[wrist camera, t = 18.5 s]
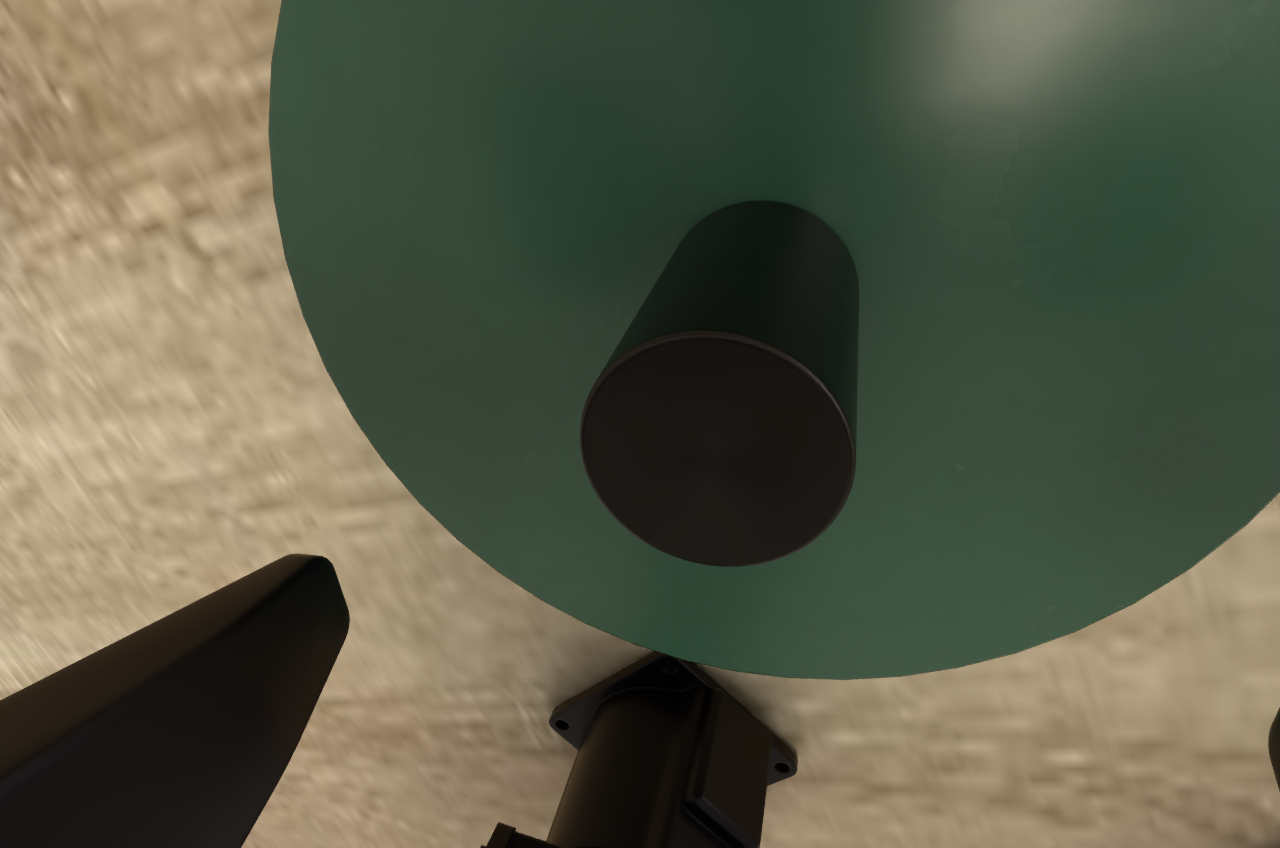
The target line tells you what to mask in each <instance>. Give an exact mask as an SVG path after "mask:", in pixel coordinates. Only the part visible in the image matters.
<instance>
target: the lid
mask: <svg viewBox="0 0 1280 848" xmlns="http://www.w3.org/2000/svg"><path fill="white" fill-rule="evenodd" d="M269 144H270V157H271V170H272V183H273V196H274V202H275V207H276V212H277V218H278V223H279V228H280V233H281V238H282V243H283V249H284V254H285V259H286V262H287V265H288V269H289V272H290V275H291V278H292V282H293V285H294V288H295V291H296V294H297V298H298V301H299V304H300V307H301V310H302V314H303V317H304V319H305V321H306V324H307V326H308V328H309V331H310V333H311V335H312V338H313V340H314V342H315V345H316V347H317V349H318V352H319V354H320V356H321V358H322V361H323V363H324V365H325V368H326V370H327V372H328V374H329V375H330V377H331V379H332V381H333V382H334V384H335V386H336V388H337V390H338V391H339V393H340V395H341V397H342V398H343V400H344V402H345V404H346V406H347V407H348V409H349V411H350V413H351V415H352V416H353V418H354V420H355V421H356V423H357V424H358V425H359V427H360V428H361V430H362V431H363V432H364V434H365V435H366V437H367V438H368V440H369V441H370V442H371V444H372V445H373V447H374V448H375V450H376V451H377V452H378V454H379V455H380V457H381V458H382V459H383V461H384V462H385V464H386V465H387V466H388V467H389V468H390V470H391V471H392V472H393V473H394V474H395V475H396V477H397V478H398V479H399V480H400V481H401V482H402V483H403V485H404V486H405V487H406V488H407V489H408V490H409V492H410V493H411V494H412V495H413V496H414V497H415V499H416V500H417V501H418V502H419V503H420V504H421V505H422V506H423V507H424V508H425V509H426V510H427V511H428V512H429V513H430V514H431V515H432V516H433V517H434V518H435V519H436V520H437V521H438V522H439V523H441V524H442V525H443V526H444V527H445V528H446V529H447V530H448V531H449V532H450V533H451V534H452V535H453V536H454V537H455V538H456V539H457V540H458V541H460V542H461V543H462V544H463V545H465V546H466V547H467V548H468V549H470V550H471V551H472V552H473V553H475V554H476V555H477V556H479V557H480V558H481V559H482V560H484V561H485V562H486V563H487V564H489V565H490V566H491V567H492V568H494V569H495V570H496V571H497V572H499V573H500V574H502V575H503V576H505V577H506V578H508V579H509V580H511V581H513V582H514V583H516V584H517V585H519V586H520V587H522V588H523V589H525V590H526V591H528V592H529V593H531V594H533V595H534V596H536V597H537V598H539V599H540V600H542V601H544V602H545V603H547V604H549V605H551V606H553V607H555V608H557V609H559V610H561V611H563V612H564V613H566V614H568V615H570V616H572V617H574V618H576V619H578V620H580V621H581V622H583V623H585V624H587V625H589V626H592V627H594V628H597V629H599V630H601V631H604V632H606V633H609V634H611V635H613V636H616V637H618V638H621V639H623V640H625V641H628V642H630V643H633V644H635V645H638V646H641V647H645V648H648V649H651V650H654V651H657V652H660V653H664V654H667V655H670V656H673V657H676V658H679V659H683V660H686V661H691V662H696V663H700V664H705V665H709V666H714V667H718V668H723V669H728V670H732V671H737V672H745V673H753V674H761V675H769V676H777V677H785V678H803V679H832V680H851V679H868V678H886V677H901V676H908V675H914V674H921V673H927V672H934V671H941V670H947V669H954V668H959V667H963V666H967V665H971V664H975V663H979V662H983V661H987V660H991V659H995V658H999V657H1003V656H1007V655H1011V654H1015V653H1018V652H1021V651H1023V650H1026V649H1029V648H1032V647H1035V646H1037V645H1040V644H1043V643H1046V642H1048V641H1051V640H1054V639H1057V638H1060V637H1062V636H1065V635H1068V634H1071V633H1073V632H1076V631H1078V630H1080V629H1082V628H1084V627H1086V626H1088V625H1090V624H1092V623H1095V622H1097V621H1099V620H1101V619H1103V618H1105V617H1107V616H1109V615H1111V614H1113V613H1115V612H1118V611H1120V610H1122V609H1124V608H1126V607H1128V606H1130V605H1132V604H1134V603H1136V602H1137V601H1139V600H1140V599H1142V598H1144V597H1145V596H1147V595H1149V594H1150V593H1152V592H1153V591H1155V590H1157V589H1158V588H1160V587H1162V586H1163V585H1165V584H1166V583H1168V582H1170V581H1171V580H1173V579H1175V578H1176V577H1178V576H1179V575H1181V574H1183V573H1184V572H1186V571H1187V570H1189V569H1191V568H1192V567H1193V566H1195V565H1196V564H1197V563H1198V562H1200V561H1201V560H1202V559H1204V558H1205V557H1206V556H1207V555H1209V554H1210V553H1211V552H1213V551H1214V550H1215V549H1216V548H1218V547H1219V546H1220V545H1222V544H1223V543H1224V542H1225V541H1227V540H1228V539H1229V538H1230V537H1232V536H1233V535H1234V534H1236V533H1237V532H1238V531H1239V530H1241V529H1242V528H1243V527H1245V526H1246V525H1247V524H1248V523H1249V522H1250V521H1251V520H1252V519H1253V518H1254V517H1255V516H1256V515H1257V514H1258V513H1259V512H1260V511H1261V510H1262V509H1263V508H1264V507H1265V506H1266V505H1267V504H1268V503H1269V502H1270V501H1271V500H1272V499H1273V498H1275V497H1276V496H1277V495H1278V494H1279V493H1280V0H282V2H281V8H280V14H279V20H278V26H277V32H276V38H275V44H274V50H273V56H272V62H271V85H270V109H269Z"/></svg>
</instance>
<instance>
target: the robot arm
mask: <svg viewBox="0 0 1280 848" xmlns="http://www.w3.org/2000/svg"><path fill="white" fill-rule="evenodd" d="M349 622H350V617H349V610H348V607H347V604H346V601H345V598H344V595H343V592H342V589H341V586H340V583H339V581H338V578H337V575H336V572H335V569H334V566H333V564H332V563H331V562H330V561H329V560H328V559H327V558H325V557H323V556H316V555H306V554H290V555H287V556H284V557H282V558H280V559H278V560H276V561H274V562H272V563H270V564H268V565H266V566H264V567H262V568H261V569H259V570H257V571H255V572H253V573H251V574H249V575H247V576H245V577H243V578H241V579H239V580H237V581H235V582H233V583H231V584H229V585H227V586H225V587H223V588H221V589H219V590H217V591H215V592H213V593H211V594H209V595H207V596H205V597H203V598H201V599H199V600H197V601H195V602H194V603H192V604H190V605H188V606H186V607H184V608H182V609H180V610H178V611H176V612H174V613H172V614H170V615H168V616H166V617H164V618H162V619H160V620H158V621H156V622H154V623H152V624H150V625H148V626H146V627H144V628H142V629H140V630H138V631H136V632H134V633H132V634H130V635H129V636H127V637H125V638H123V639H121V640H119V641H117V642H115V643H113V644H111V645H109V646H107V647H105V648H103V649H101V650H99V651H97V652H95V653H93V654H91V655H89V656H87V657H85V658H83V659H81V660H79V661H77V662H75V663H73V664H71V665H69V666H67V667H65V668H63V669H62V670H60V671H58V672H56V673H54V674H52V675H50V676H48V677H46V678H44V679H42V680H40V681H38V682H36V683H34V684H32V685H30V686H28V687H26V688H24V689H22V690H20V691H18V692H16V693H14V694H12V695H10V696H8V697H6V698H4V699H2V700H0V848H241V847H242V845H243V843H244V842H245V840H246V838H247V836H248V835H249V833H250V831H251V829H252V828H253V826H254V824H255V822H256V821H257V819H258V817H259V815H260V814H261V812H262V810H263V808H264V807H265V805H266V803H267V801H268V800H269V798H270V796H271V794H272V793H273V791H274V789H275V787H276V786H277V784H278V782H279V780H280V778H281V776H282V775H283V773H284V771H285V769H286V767H287V765H288V763H289V761H290V759H291V757H292V755H293V753H294V751H295V749H296V747H297V745H298V743H299V741H300V738H301V736H302V734H303V732H304V730H305V727H306V725H307V723H308V721H309V718H310V716H311V714H312V712H313V710H314V707H315V705H316V703H317V701H318V699H319V696H320V694H321V692H322V690H323V687H324V685H325V683H326V681H327V679H328V676H329V674H330V672H331V670H332V668H333V665H334V663H335V661H336V659H337V656H338V654H339V652H340V650H341V648H342V645H343V643H344V641H345V639H346V636H347V633H348V629H349ZM667 661H669V662H672V663H669V662H667ZM673 663H674V664H673ZM549 724H550V726H551V727H552V728H553V729H554V730H555V731H556V732H557V733H558V734H559V735H561V736H562V737H563V738H564V739H566V740H567V741H568V742H569V743H570V744H572V745H573V746H574V747H575V748H576V749H578V753H577V756H576V758H575V761H574V764H573V767H572V770H571V772H570V775H569V778H568V781H567V784H566V787H565V789H564V792H563V795H562V798H561V801H560V804H559V806H558V809H557V812H556V815H555V818H554V820H553V823H552V826H551V829H550V832H549V835H548V837H547V840H546V841H543V840H540V839H537V838H534V837H531V836H528V835H525V834H522V833H519V832H516V828H514V827H511V826H508V825H506V824H503V823H500V822H499V823H498V824H497V826H496V828H495V830H494V832H493V834H492V836H491V838H490V840H489V842H488V844H487V846H483V845H481V847H480V848H760V841H761V832H762V824H763V815H764V807H765V798H766V789H767V786H768V785H771V784H773V783H776V782H778V781H781V780H784V779H786V778H789V777H791V776H793V775H794V774H795V773H796V771H797V764H798V759H797V756H796V754H795V753H794V752H793V751H792V750H791V749H790V748H788V747H787V746H786V745H785V744H784V743H783V742H782V741H781V740H780V739H778V738H777V737H776V736H775V735H774V734H773V733H772V732H771V731H770V730H768V729H767V728H766V727H765V726H764V725H763V724H762V723H761V722H760V721H758V720H757V719H756V718H755V717H754V716H753V715H752V714H751V713H750V712H748V711H747V710H746V709H745V708H744V707H743V706H742V705H741V704H740V703H739V702H737V701H736V700H735V699H734V698H733V697H732V696H731V695H730V694H729V693H727V692H726V691H725V690H724V689H723V688H722V687H721V686H720V685H719V684H717V683H716V682H715V681H714V680H713V679H712V678H711V677H710V676H709V675H707V674H706V673H705V672H704V671H703V670H702V669H701V668H700V667H699V666H697V665H696V664H695V663H694V662H691V661H686V660H683V659H679V658H676V657H673V656H670V655H667V654H664V653H660V652H657V651H655V652H653V653H652V654H650V655H648V656H646V657H645V658H643V659H641V660H639V661H637V662H636V663H634V664H632V665H630V666H629V667H627V668H625V669H623V670H622V671H620V672H618V673H616V674H614V675H613V676H611V677H609V678H607V679H606V680H604V681H602V682H600V683H598V684H597V685H595V686H593V687H591V688H590V689H588V690H586V691H584V692H583V693H581V694H579V695H577V696H575V697H574V698H572V699H570V700H568V701H567V702H565V703H563V704H561V705H559V706H558V707H556V708H555V709H554V710H553V712H552V714H551V717H550V720H549ZM1268 746H1269V755H1270V759H1271V763H1272V766H1273V770H1274V774H1275V777H1276V781H1277V784H1278V788H1279V791H1280V708H1279V710H1278V712H1277V715H1276V717H1275V719H1274V721H1273V723H1272V725H1271V729H1270V733H1269V743H1268Z"/></svg>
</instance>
